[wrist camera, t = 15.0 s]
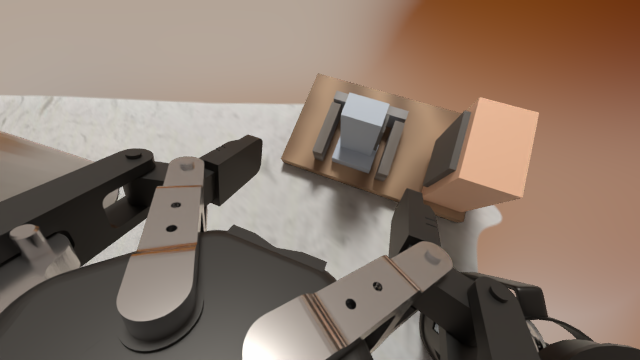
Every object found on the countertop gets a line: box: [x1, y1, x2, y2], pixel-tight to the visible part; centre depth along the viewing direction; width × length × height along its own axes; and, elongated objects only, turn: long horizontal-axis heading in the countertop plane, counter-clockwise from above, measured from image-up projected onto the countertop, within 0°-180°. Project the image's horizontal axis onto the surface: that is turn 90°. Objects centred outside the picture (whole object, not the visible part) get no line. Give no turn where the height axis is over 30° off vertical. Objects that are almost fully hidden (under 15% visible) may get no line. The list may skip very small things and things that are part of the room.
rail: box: [281, 74, 466, 223], centre depth 31 cm, size 24×14×4 cm, turn 69°
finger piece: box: [332, 93, 390, 174], centre depth 27 cm, size 5×6×10 cm
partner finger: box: [421, 97, 539, 212], centre depth 25 cm, size 6×8×10 cm
